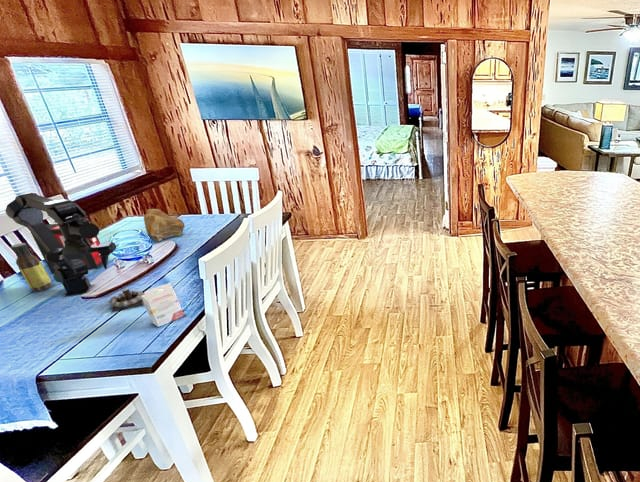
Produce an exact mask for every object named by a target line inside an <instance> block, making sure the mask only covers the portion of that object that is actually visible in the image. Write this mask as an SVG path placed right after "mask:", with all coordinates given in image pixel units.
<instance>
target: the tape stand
mask: <svg viewBox="0 0 640 482" xmlns="http://www.w3.org/2000/svg"><path fill="white" fill-rule="evenodd" d="M130 291H131V290H130V288H128V287H125V288H123V289H122V290H121V292H122V293H123V294H124V296H125V298H122V299H120V300H118V301H117V302H124V301H128V300H131V299H133V298H135V297H137V296H134V295H133V296H132V295H131V293H130ZM143 305H144V302H143V300H140V301H139V302H137V303H135V304H132V305H130V306H125V307H112V308H111V310H112V312H116V311H120V310H126V309H132V308H137V307H142V306H143Z"/></svg>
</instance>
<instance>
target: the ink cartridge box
mask: <svg viewBox="0 0 640 482" xmlns="http://www.w3.org/2000/svg"><path fill="white" fill-rule="evenodd" d="M143 293H144V294H145V295H143V296H141V297H142V300H143V302H144V303H143V305H144V307H145V309H146V312H147V314H148V316H149V318H150V321H151V323H152V324H153V325H154V326H156V327H157V328H160V327H162V326H165V325H167V324H169V323H171V322H174V321H176V320H179V319H180V318H183V317H185V316H184V315H185V314H184V312H183V309H182V307H181V304H180V301H179V299H178V297H177V293H176V291H175V289H174V288H173V285H172V283H171V282H167V283H165V284H161V285H159V286H156V287H154V288H152V289H148V290H145V291H144V292H143Z"/></svg>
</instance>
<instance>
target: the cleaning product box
mask: <svg viewBox="0 0 640 482" xmlns="http://www.w3.org/2000/svg"><path fill="white" fill-rule="evenodd" d="M88 221H89V223H92V221H91V220H88ZM45 225H46V226H47V227H48V228H49V230H50V231H51V232H52V233H53V234H54V236H55V237H56V238H57V239H58V241H59V242H60V243H61V244H62V246H63V247H65V243H64V240H65V239H64V236H63V234H62V232H61V230H60V228H59V226H58V223H50V224H45ZM30 234H31V237H32V238H33V240H34V242H35V244H36V245H37V248H38V250H39V252H40V253H41V255H42V257H43V260H44V262H45V263H46V266H47V267H48V269H49V272H50V273H51V274H54V272H55V269H54V268H53V261H51V262H47V260H46V258H45V255H46V254H47V253H48V252H47V251H46V250H45V248H44V247H43V246H42V245H41V244H40V242H39V241H38V240H37V239H36V238H35V236H34V235H33V234H32V233H31V232H30ZM88 241H89V243H91V244H92V245H91V247H97V246H99V245H100V244H101V242H100V240H99V237H98V235H97V236H96V237H94V238H91V239H88ZM99 255H100V253H98V252H90V253H89V254H85V255H84V258H82V259H81V260H82V261H84V262H85V263H86V264H87V268H88V271H90V270H98V269H99V268H100V267H102V266H103V263H102V260H101V258H100V257H99Z"/></svg>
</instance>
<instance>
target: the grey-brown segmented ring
mask: <svg viewBox="0 0 640 482" xmlns="http://www.w3.org/2000/svg"><path fill="white" fill-rule="evenodd" d="M130 293H131V295H132V296H133V295H134V296H137V297H135V298H133V299H131V300H128V301H124V302H117V301H118V300H120V299H122V298H125V296H124V294H123V292H121V293H118V294H117V295H115V296H113V297H111V298H110V300H109V302H108V304H109V306H110V307H112V308H113V307H125V306H130V305H132V304H135V303H137V302H139V301H140V300H142V297H141V296H143V295H145V294H144V292H143V291H141V290H130Z"/></svg>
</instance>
